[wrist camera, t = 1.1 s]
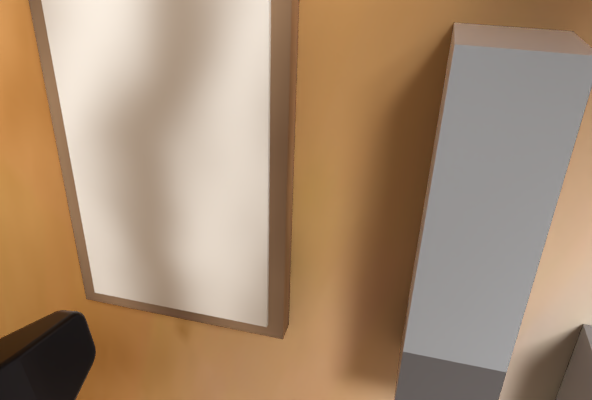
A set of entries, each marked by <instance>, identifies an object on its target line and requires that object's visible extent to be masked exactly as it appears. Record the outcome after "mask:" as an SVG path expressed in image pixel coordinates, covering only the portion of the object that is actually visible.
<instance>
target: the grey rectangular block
mask: <svg viewBox="0 0 592 400" xmlns="http://www.w3.org/2000/svg"><path fill="white" fill-rule="evenodd" d="M591 87H592V48H591V47H590V46H589V45H588V44H587V43H585V42H584V41H583V40H582V39H581V38H580V37H579V36H578V35H577V34H575V33H574V32H573V31H563V30H550V29H536V28H522V27H509V26H495V25H481V24H468V23H454V26H453V32H452V38H451V44H450V50H449V56H448V62H447V68H446V74H445V80H444V86H443V92H442V99H441V105H440V111H439V117H438V123H437V129H436V135H435V141H434V147H433V153H432V159H431V165H430V171H429V177H428V184H427V190H426V196H425V202H424V208H423V214H422V220H421V226H420V232H419V238H418V244H417V250H416V256H415V262H414V269H413V275H412V281H411V287H410V293H409V299H408V305H407V311H406V317H405V323H404V329H403V335H402V341H401V348H400V357H399V365H398V374H397V382H396V391H395V399H394V400H498V399H499V396H500V392H501V389H502V386H503V382H504V379H505V376H506V372H507V369H508V366H509V362H510V359H511V356H512V352H513V349H514V345H515V342H516V339H517V335H518V332H519V329H520V325H521V322H522V319H523V315H524V312H525V309H526V305H527V302H528V299H529V295H530V292H531V288H532V285H533V282H534V278H535V275H536V272H537V268H538V265H539V262H540V258H541V255H542V252H543V248H544V245H545V242H546V238H547V235H548V231H549V228H550V225H551V221H552V218H553V215H554V211H555V208H556V205H557V201H558V198H559V195H560V191H561V188H562V184H563V181H564V178H565V174H566V171H567V168H568V164H569V161H570V158H571V154H572V151H573V148H574V144H575V141H576V138H577V134H578V131H579V127H580V124H581V121H582V117H583V114H584V111H585V107H586V104H587V101H588V97H589V94H590V91H591Z"/></svg>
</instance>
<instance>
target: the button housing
mask: <svg viewBox="0 0 592 400" xmlns="http://www.w3.org/2000/svg"><path fill="white" fill-rule="evenodd" d="M556 400H592V326H589V325H584V324H583V327H582V329H581V332H580V335H579V337H578V340H577V343H576V346H575V348H574V351H573V354H572V356H571V359H570V362H569V364H568V367H567V370H566V373H565V375H564V378H563V381H562V383H561V386H560V389H559V391H558V394H557V397H556Z"/></svg>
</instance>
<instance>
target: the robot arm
mask: <svg viewBox="0 0 592 400" xmlns="http://www.w3.org/2000/svg"><path fill="white" fill-rule="evenodd" d="M95 353H96V350H95V345H94V342H93V339H92V336H91V333H90V330H89V327H88V324H87V321H86V319H85V317H84V315H83V314H82V313H80V312H77V311H66V310H60V311H56V312H54V313H52V314H50V315H48V316H46V317H44V318H42V319H40V320H37V321H35V322H33V323H31V324H29V325H27V326H25V327H23V328H21V329H19V330H17V331H15V332H13V333H11V334H9V335H7V336H5V337H3V338H1V339H0V400H75V399H76V397H77V395H78V393H79V391H80V389H81V387H82V385H83V383H84V381H85V379H86V377H87V375H88V372H89V370H90V368H91V366H92V364H93V362H94V359H95Z"/></svg>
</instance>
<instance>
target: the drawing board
mask: <svg viewBox="0 0 592 400" xmlns="http://www.w3.org/2000/svg"><path fill="white" fill-rule="evenodd" d="M29 5H30V10H31V15H32V20H33V26H34V31H35V36H36V41H37V46H38V51H39V57H40V62H41V67H42V72H43V77H44V82H45V88H46V93H47V98H48V103H49V108H50V113H51V118H52V124H53V129H54V134H55V139H56V144H57V149H58V155H59V160H60V165H61V170H62V175H63V180H64V186H65V191H66V196H67V201H68V206H69V211H70V216H71V222H72V227H73V232H74V237H75V242H76V247H77V253H78V258H79V263H80V268H81V273H82V278H83V283H84V289H85V294H86V299H89V300H94V301H99V302H103V303H108V304H113V305H118V306H123V307H128V308H133V309H138V310H143V311H147V312H152V313H157V314H162V315H167V316H172V317H177V318H182V319H187V320H191V321H196V322H201V323H206V324H211V325H216V326H221V327H226V328H231V329H235V330H240V331H245V332H250V333H255V334H260V335H265V336H270V337H275V338H279V339H283V338H284V335H285V333H286V330H287V328H288V325H289V298H290V267H291V236H292V205H293V174H294V143H295V112H296V81H297V50H298V19H299V0H29Z"/></svg>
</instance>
